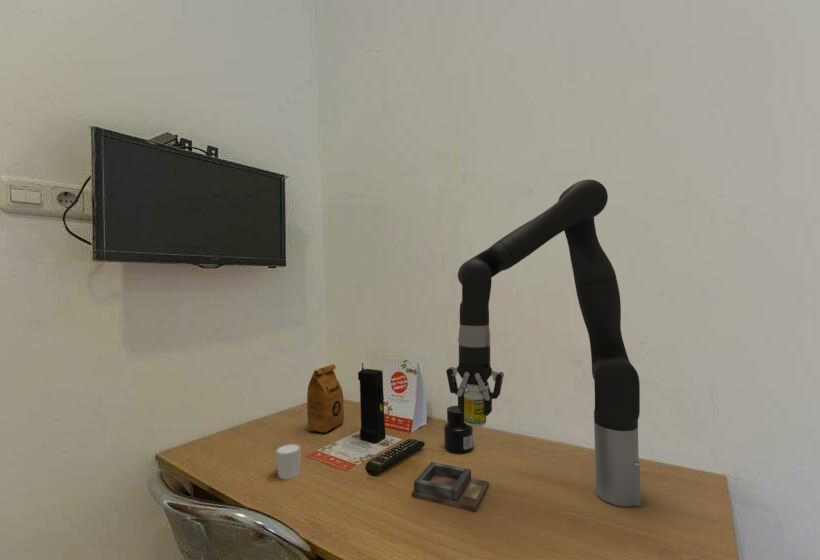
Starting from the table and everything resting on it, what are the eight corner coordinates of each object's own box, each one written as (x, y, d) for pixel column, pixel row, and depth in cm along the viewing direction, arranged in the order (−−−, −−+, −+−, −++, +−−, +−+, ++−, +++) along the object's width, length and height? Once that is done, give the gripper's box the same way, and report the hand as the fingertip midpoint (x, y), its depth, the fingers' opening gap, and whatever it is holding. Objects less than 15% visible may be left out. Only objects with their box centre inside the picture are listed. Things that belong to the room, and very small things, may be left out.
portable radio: (389, 437, 131) (387, 362, 130) (378, 444, 126) (376, 366, 125) (370, 433, 135) (368, 360, 135) (359, 439, 130) (357, 364, 130)
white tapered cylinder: (307, 470, 110) (306, 445, 110) (290, 482, 104) (289, 456, 104) (288, 466, 113) (287, 441, 113) (270, 477, 107) (269, 451, 107)
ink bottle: (473, 455, 116) (472, 415, 116) (443, 454, 118) (442, 414, 118) (473, 441, 126) (472, 404, 126) (445, 440, 127) (444, 403, 127)
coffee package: (348, 424, 144) (346, 364, 144) (325, 436, 133) (323, 371, 133) (328, 419, 149) (326, 361, 149) (303, 431, 138) (302, 369, 138)
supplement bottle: (475, 417, 99) (475, 379, 98) (491, 423, 94) (491, 384, 94) (459, 421, 96) (459, 382, 96) (474, 429, 91) (474, 387, 91)
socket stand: (489, 485, 99) (488, 471, 99) (475, 511, 89) (475, 496, 89) (430, 473, 106) (430, 460, 106) (411, 496, 96) (411, 482, 95)
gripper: (507, 342, 95) (507, 412, 95) (451, 338, 101) (451, 404, 101) (500, 348, 88) (501, 423, 88) (440, 343, 94) (441, 413, 95)
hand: (474, 412), depth 95 cm, fingers closed on supplement bottle, 5 cm apart
